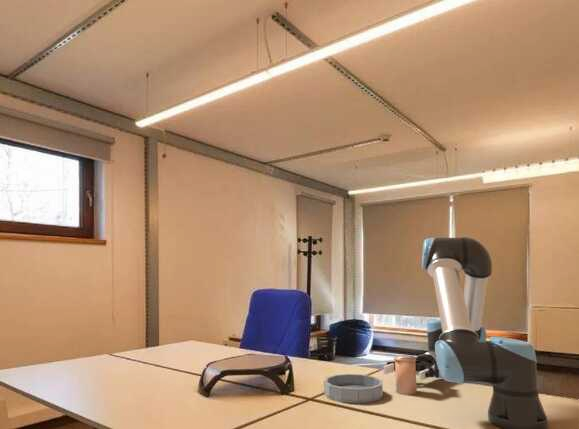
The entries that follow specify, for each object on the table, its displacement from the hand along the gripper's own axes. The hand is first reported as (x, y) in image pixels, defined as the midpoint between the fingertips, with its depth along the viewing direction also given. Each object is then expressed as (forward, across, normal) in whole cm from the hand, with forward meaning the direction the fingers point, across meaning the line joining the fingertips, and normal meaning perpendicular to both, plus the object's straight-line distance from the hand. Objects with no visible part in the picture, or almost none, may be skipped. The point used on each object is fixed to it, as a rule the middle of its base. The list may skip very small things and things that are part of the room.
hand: (401, 373), depth 150 cm
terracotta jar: (-3, 0, -7) cm, 8 cm away
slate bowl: (+12, +12, -7) cm, 18 cm away
